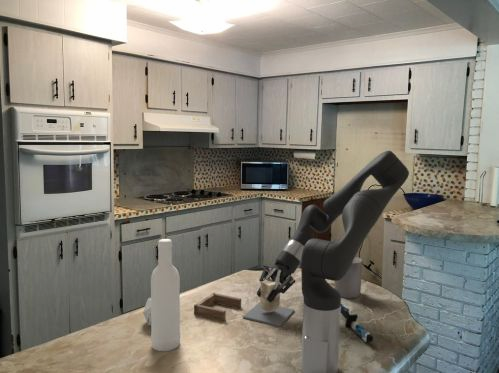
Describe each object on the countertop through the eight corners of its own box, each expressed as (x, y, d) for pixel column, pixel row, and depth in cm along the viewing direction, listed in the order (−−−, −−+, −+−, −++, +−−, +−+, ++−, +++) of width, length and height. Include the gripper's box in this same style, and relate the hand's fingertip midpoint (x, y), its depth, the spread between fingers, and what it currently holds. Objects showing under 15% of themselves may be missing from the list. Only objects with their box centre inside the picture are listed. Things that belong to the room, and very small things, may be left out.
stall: (223, 320, 132) (223, 311, 132) (194, 314, 137) (194, 305, 137) (241, 307, 144) (241, 298, 143) (213, 301, 148) (213, 293, 148)
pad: (280, 326, 129) (280, 324, 129) (242, 318, 135) (242, 316, 135) (294, 311, 141) (294, 309, 141) (259, 304, 146) (259, 302, 146)
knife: (373, 350, 118) (375, 335, 117) (363, 350, 118) (364, 336, 117) (332, 297, 148) (333, 286, 147) (324, 298, 147) (325, 286, 146)
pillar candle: (337, 287, 164) (339, 250, 162) (362, 292, 160) (364, 254, 158) (331, 295, 155) (332, 256, 154) (357, 300, 151) (359, 260, 149)
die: (137, 323, 131) (137, 307, 124) (153, 302, 137) (153, 286, 131) (159, 335, 129) (160, 320, 123) (174, 314, 135) (176, 298, 129)
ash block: (279, 309, 137) (279, 282, 136) (268, 312, 135) (269, 285, 133) (270, 304, 141) (271, 278, 140) (260, 307, 138) (260, 281, 137)
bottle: (157, 354, 111) (156, 245, 108) (147, 342, 118) (145, 239, 114) (184, 346, 116) (184, 241, 112) (173, 335, 122) (173, 235, 119)
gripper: (311, 267, 138) (283, 311, 132) (283, 257, 149) (256, 297, 143) (300, 254, 134) (271, 299, 128) (272, 245, 145) (243, 285, 139)
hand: (263, 298), depth 136 cm, fingers closed on ash block, 4 cm apart
